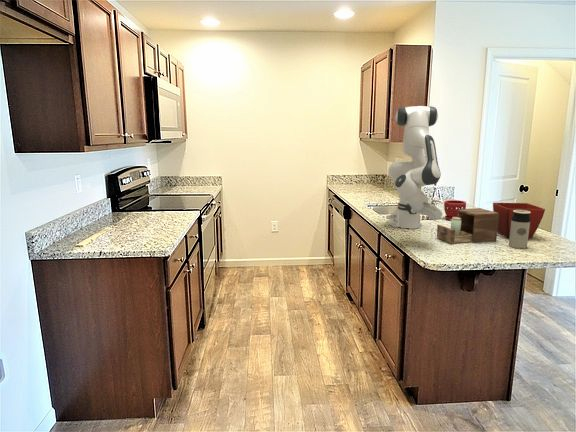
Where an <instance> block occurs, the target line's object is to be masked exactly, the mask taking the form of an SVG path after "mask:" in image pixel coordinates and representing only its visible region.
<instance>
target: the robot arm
mask: <svg viewBox="0 0 576 432" xmlns="http://www.w3.org/2000/svg"><path fill="white" fill-rule="evenodd" d="M438 119H439V112H438V109H437V107H435V106H433V105H432V106H431V105H429V106H426V105H417V106H416V105H413V106H401V107H399V108H398V109H397V111H396V113H395V122H396V124H397V125H398V126H399V127H404V132H403V137H402V138H403V141H402V151H403V153H404V154H405V155H407V156H408V157H410V158H411V161H396V162H392V163H391V164H390V165H389V166H388V171H387V172H388V173H387V174H388V175H389V177H390V179H391V180H393V181H394V186H395V188H396V191H397V192H398V193H399V202H398V203H397V207H396V209H395V210H394V211H393V212H391V214H390V219H388V220H386V223H387V222H388V224H389V225H390V226H391V225H392V228H398V227H401V228H400V229H406V228H409V229H410V230H411V229H412V230H413V229H419V228H421V227H422V225H423V224H422V223H421V215H424V216H426V217H428V218H429V219H430V220H432V221H434V222H435V221H437V220H439V219H440V218H441V217H442V216H443V212H442V211H441V210H440V209H439V208H438V206H436V205H435V204H433V203H430V202H429V198H428V196H427V195H426V194H425V193H424V192H423V190H421V188H422V187H425V186H432V185H433V186H434V185H436V184H437V183H438V182H439V180H440V179H441V175H442V174H441V170H440V166H439V163H438V162H439V161H438V156H437V148H436V143H435V139H434V138H433V136H432V135H431V134H430V132H429V130H430V129H429V127H432V126H434V125H436V123H437V122H438ZM409 229H408V230H409Z"/></svg>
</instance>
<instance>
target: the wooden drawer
mask: <svg viewBox="0 0 576 432" xmlns="http://www.w3.org/2000/svg"><path fill="white" fill-rule="evenodd" d="M436 228H437V229H436V238H437V239H439V240H441V241H444V242H447V243H449V244H452V245H454V244H456V243H470V242H471V243H472V237H473V235H472V234H469V233H467V232H464V231H460V236H455V230H453V229H451V227H450V228H449V227H447V226H444V225H441V224H437V227H436Z"/></svg>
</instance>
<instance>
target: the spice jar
mask: <svg viewBox="0 0 576 432" xmlns="http://www.w3.org/2000/svg"><path fill="white" fill-rule="evenodd" d="M450 229H453V230H455V236H460V229H461V218H460V217H452V220H450Z"/></svg>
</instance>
